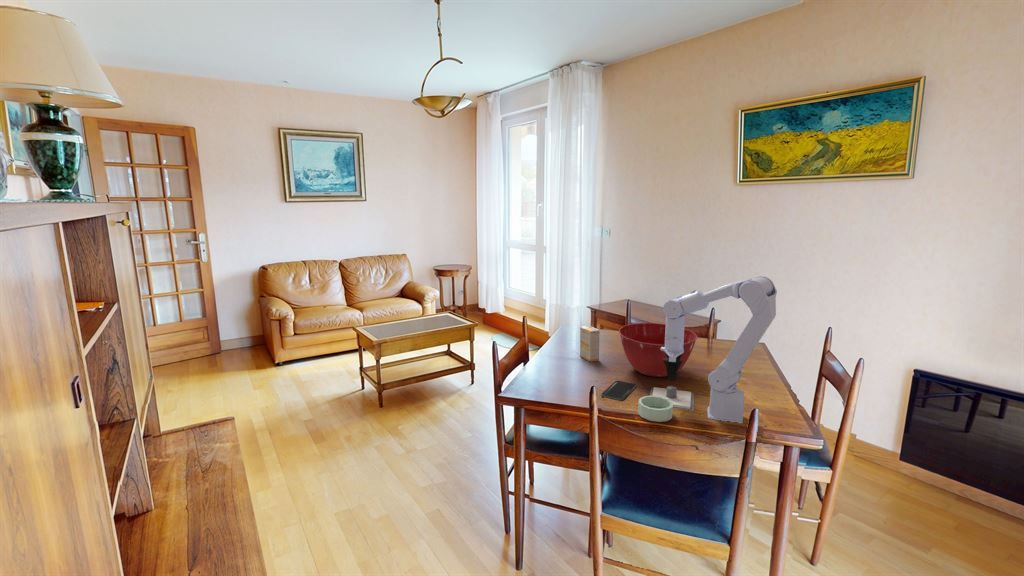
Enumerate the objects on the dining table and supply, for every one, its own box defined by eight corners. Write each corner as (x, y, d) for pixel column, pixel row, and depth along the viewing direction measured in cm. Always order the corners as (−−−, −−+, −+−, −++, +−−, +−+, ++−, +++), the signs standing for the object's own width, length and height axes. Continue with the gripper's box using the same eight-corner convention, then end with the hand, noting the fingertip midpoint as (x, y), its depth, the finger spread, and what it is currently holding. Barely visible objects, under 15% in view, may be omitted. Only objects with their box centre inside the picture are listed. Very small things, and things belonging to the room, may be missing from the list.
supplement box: (599, 360, 192) (600, 329, 189) (589, 362, 190) (590, 331, 188) (589, 354, 200) (589, 324, 197) (579, 356, 198) (579, 326, 195)
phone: (600, 394, 157) (616, 380, 169) (600, 398, 157) (616, 383, 170) (622, 399, 153) (637, 384, 165) (622, 403, 153) (637, 387, 165)
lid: (690, 394, 158) (691, 383, 157) (690, 409, 147) (690, 397, 146) (653, 389, 162) (654, 379, 161) (650, 403, 151) (651, 392, 150)
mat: (694, 394, 158) (694, 393, 158) (693, 411, 145) (693, 410, 145) (651, 388, 163) (651, 387, 163) (647, 405, 150) (647, 404, 150)
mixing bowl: (702, 366, 184) (704, 328, 181) (684, 391, 160) (686, 348, 157) (632, 354, 199) (633, 319, 196) (606, 375, 176) (607, 336, 173)
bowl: (673, 410, 147) (673, 398, 146) (671, 424, 137) (672, 411, 137) (640, 405, 150) (640, 393, 149) (636, 419, 141) (636, 406, 140)
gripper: (663, 328, 158) (661, 366, 161) (659, 341, 145) (657, 382, 148) (685, 330, 156) (682, 369, 158) (683, 343, 142) (681, 385, 145)
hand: (672, 375), depth 153 cm, fingers open, 7 cm apart
